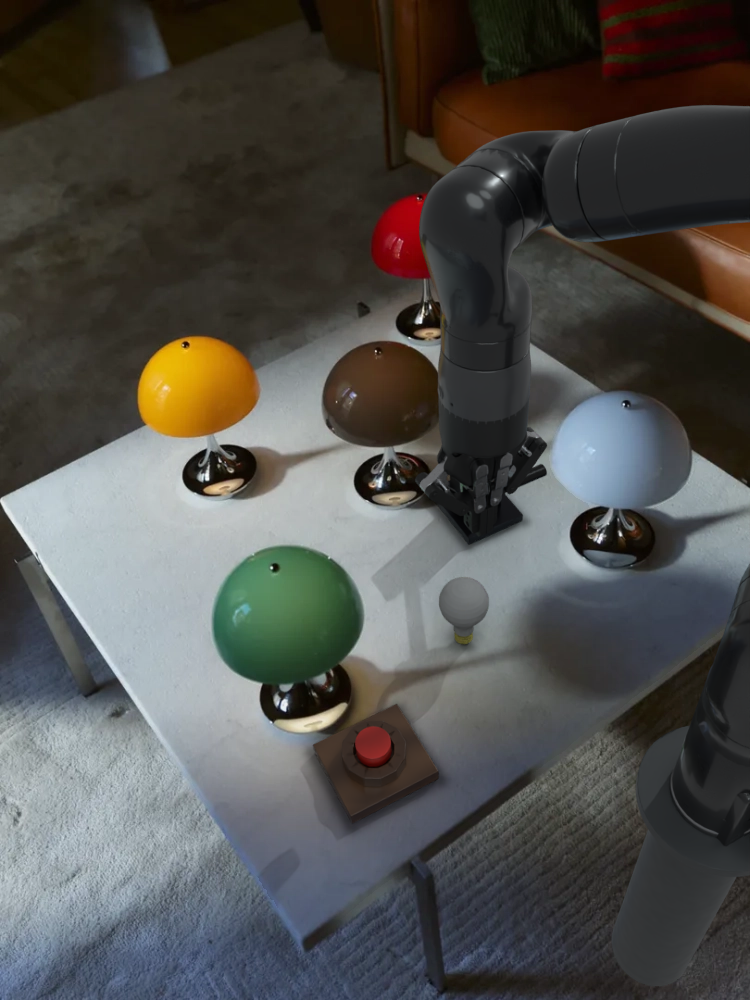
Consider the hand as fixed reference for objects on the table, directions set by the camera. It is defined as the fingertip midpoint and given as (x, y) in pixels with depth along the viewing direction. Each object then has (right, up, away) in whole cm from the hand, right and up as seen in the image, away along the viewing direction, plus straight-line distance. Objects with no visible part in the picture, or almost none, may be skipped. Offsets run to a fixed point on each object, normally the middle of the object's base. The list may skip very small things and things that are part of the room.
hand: (480, 528), depth 90 cm
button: (-10, -23, +6) cm, 26 cm away
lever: (+5, +6, +21) cm, 22 cm away
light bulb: (0, -14, +18) cm, 23 cm away
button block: (-10, -25, +8) cm, 28 cm away
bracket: (+3, +2, +32) cm, 32 cm away
